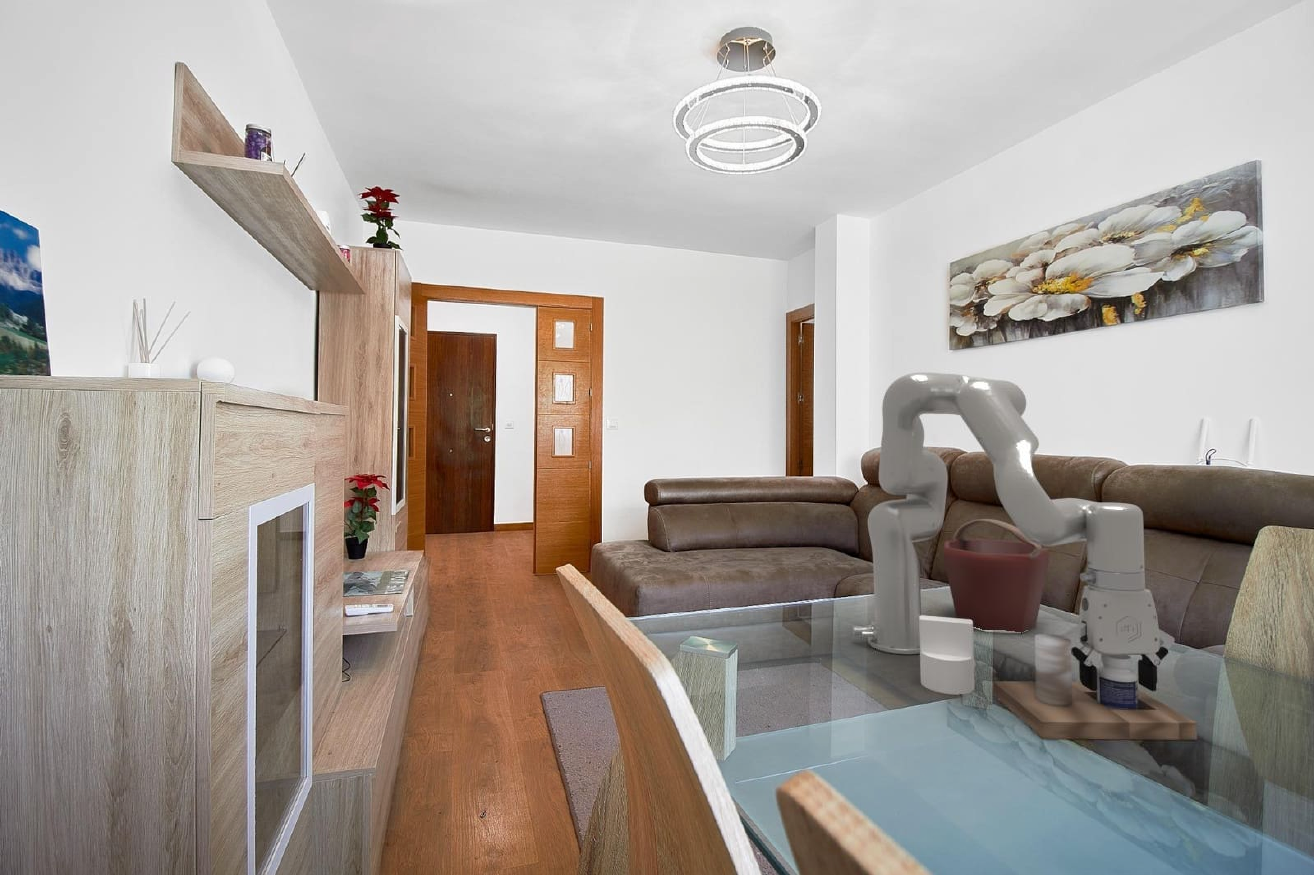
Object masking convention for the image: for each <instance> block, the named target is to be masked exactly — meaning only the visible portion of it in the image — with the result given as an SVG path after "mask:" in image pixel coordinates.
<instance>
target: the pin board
mask: <svg viewBox="0 0 1314 875" xmlns="http://www.w3.org/2000/svg"><path fill="white" fill-rule="evenodd" d="M1061 636H1062V635H1057V634H1052V633H1051V634H1050V633H1039V634H1035V635H1034V658H1035V664H1034V665H1035V680H1034V681H1032V680H1030V681H1029V680H1028V681H1026V680H1025V681H1022V680H1021V681H1019V680H1018V681H1017V680H1016V681H1013V680H1012V681H1011V680H1010V681H1007V680H1003V681H1002V680H1001V681H1000V680H999V681H998V680H997V681H993V682H992V689H993V690H992V691H993V694H992V695H995V698H996V699H997V698H998V699H1000V701H1001V702H1002V703H1004V704H1005V705H1006V706H1007V707H1008V708H1010V710H1011V711H1010V710H1009V711H1010V712H1011V713H1012V714H1014V713H1015V714H1016V715H1017V716H1018V717H1020V718H1021V719H1020V718H1019V719H1020V720H1021V721H1022V723H1024V722H1025V723H1026V724H1025V723H1024V724H1025V725H1027V726H1028V727H1029V726H1030V727H1031V728H1032V729H1033V730H1034V732H1035V733H1036V734H1037V735H1038V736H1039V737H1040V738H1041V739H1043V740H1044V739H1045V740H1048V739H1050V740H1051V739H1052V740H1158V741H1160V740H1162V741H1163V740H1164V741H1165V740H1173V741H1175V740H1176V741H1177V740H1178V741H1180V740H1183V741H1185V740H1186V741H1188V740H1189V741H1192V740H1193V741H1197V740H1198V733H1197V731H1198V728H1197V722H1196V721H1194V720H1192V719H1190V718H1189V717H1187V716H1185V715H1183V714H1182V713H1180V712H1178V711H1177V710H1175V709H1173V708H1171V707H1169V706H1168V705H1165V704H1164V703H1162V702H1160V701H1159V700H1157V699H1155V698H1154V697H1152V696H1151V695H1148V694H1147V693H1145V692H1143V691H1141V690H1140V689H1138V710H1110V709H1108V708H1107V707H1105V706H1104V705H1102V704H1101V703H1099V702H1098V701H1097V690H1096V691H1091V690H1090V689H1088V688H1087V687H1085V686H1084V685H1082V683H1081V681H1073V676H1072V675H1073V673H1072V672H1073V668H1072V666H1073V665H1072V664H1073V663H1072V654H1071V640H1064V639H1062V638H1061ZM998 699H997V700H998ZM1000 701H999V702H1000ZM1001 702H1000V703H1001ZM1002 703H1001V704H1002ZM1004 704H1003V705H1004ZM1005 705H1004V706H1005ZM1006 706H1005V707H1006ZM1007 707H1006V708H1007ZM1008 708H1007V709H1008ZM1015 714H1014V715H1015ZM1016 715H1015V716H1016ZM1017 716H1016V717H1017ZM1030 727H1029V728H1030ZM1031 728H1030V729H1031ZM1032 729H1031V730H1032ZM1033 730H1032V731H1033Z"/></svg>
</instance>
